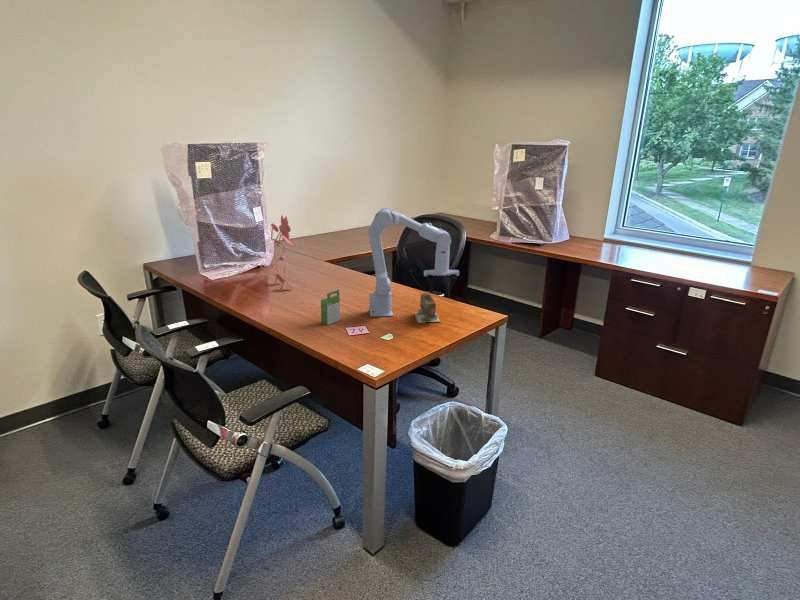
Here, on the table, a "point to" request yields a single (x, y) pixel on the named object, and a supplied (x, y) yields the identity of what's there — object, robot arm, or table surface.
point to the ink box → (330, 308)
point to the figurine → (285, 237)
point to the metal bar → (428, 305)
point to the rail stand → (423, 319)
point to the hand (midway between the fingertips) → (440, 292)
